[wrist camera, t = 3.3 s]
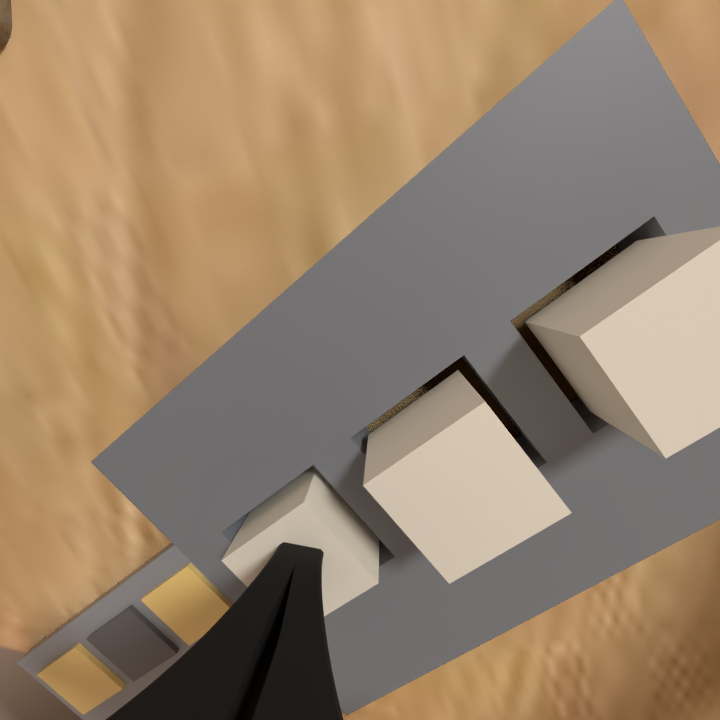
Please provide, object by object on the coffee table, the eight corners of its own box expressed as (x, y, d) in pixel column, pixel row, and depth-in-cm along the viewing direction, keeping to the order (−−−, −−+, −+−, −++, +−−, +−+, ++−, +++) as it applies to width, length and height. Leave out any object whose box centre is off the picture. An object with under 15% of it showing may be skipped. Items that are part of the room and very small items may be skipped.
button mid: (523, 454, 11) (572, 513, 8) (433, 511, 12) (449, 584, 9) (457, 369, 10) (485, 401, 8) (368, 434, 11) (362, 485, 8)
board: (796, 410, 12) (878, 435, 10) (351, 661, 15) (346, 715, 14) (573, 52, 10) (620, -6, 8) (132, 436, 14) (90, 462, 12)
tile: (270, 605, 15) (264, 623, 14) (102, 713, 17) (89, 733, 17) (192, 526, 14) (182, 540, 14) (29, 649, 17) (11, 667, 16)
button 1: (379, 520, 13) (378, 583, 11) (312, 564, 14) (294, 634, 11) (321, 454, 13) (303, 502, 10) (254, 503, 14) (221, 560, 11)
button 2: (701, 340, 10) (830, 363, 7) (590, 411, 10) (666, 458, 8) (636, 240, 9) (746, 221, 7) (524, 321, 10) (579, 336, 7)
